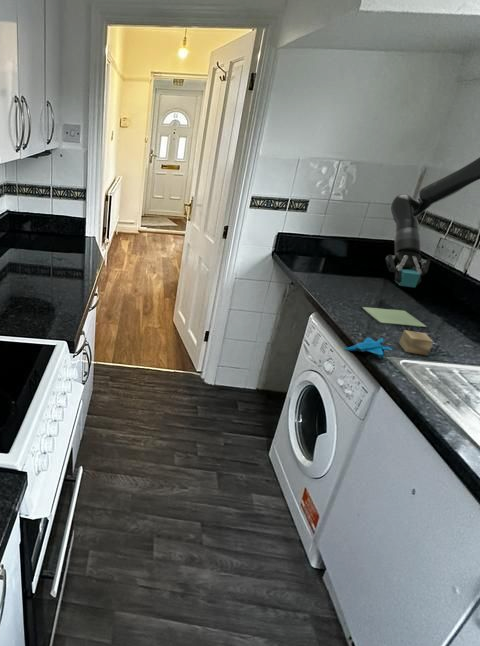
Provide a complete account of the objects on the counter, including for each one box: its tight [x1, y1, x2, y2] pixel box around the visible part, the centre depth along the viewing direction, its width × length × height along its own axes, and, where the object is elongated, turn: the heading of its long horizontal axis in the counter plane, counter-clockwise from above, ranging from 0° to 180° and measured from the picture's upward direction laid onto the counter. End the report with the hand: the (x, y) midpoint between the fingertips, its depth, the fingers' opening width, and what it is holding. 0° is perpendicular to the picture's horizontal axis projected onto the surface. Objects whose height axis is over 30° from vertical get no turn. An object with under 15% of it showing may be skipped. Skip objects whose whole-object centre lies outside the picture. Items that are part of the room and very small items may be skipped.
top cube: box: [394, 268, 420, 288], centre depth 150 cm, size 5×5×5 cm
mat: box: [361, 306, 428, 328], centre depth 156 cm, size 16×14×1 cm
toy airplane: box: [343, 337, 394, 360], centre depth 127 cm, size 12×10×4 cm
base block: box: [398, 329, 434, 356], centre depth 132 cm, size 6×6×5 cm
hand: (408, 283), depth 149 cm, fingers closed on top cube, 5 cm apart
